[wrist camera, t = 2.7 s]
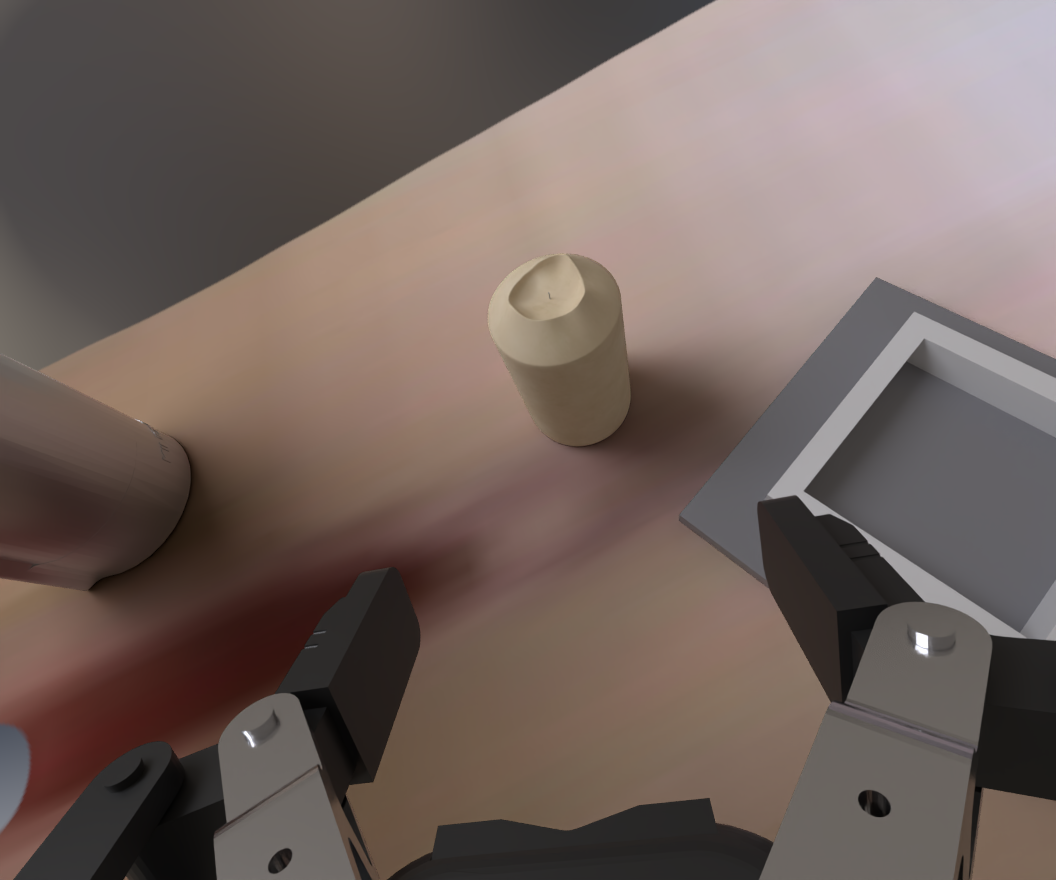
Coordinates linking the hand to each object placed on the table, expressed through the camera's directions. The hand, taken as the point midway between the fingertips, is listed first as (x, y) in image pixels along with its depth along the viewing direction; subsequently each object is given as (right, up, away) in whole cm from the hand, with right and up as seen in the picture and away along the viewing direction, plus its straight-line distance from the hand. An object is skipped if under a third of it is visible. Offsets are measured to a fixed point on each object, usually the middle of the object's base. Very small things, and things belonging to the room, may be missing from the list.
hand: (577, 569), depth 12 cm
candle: (+2, +5, +18) cm, 19 cm away
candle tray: (+17, 0, +12) cm, 21 cm away
